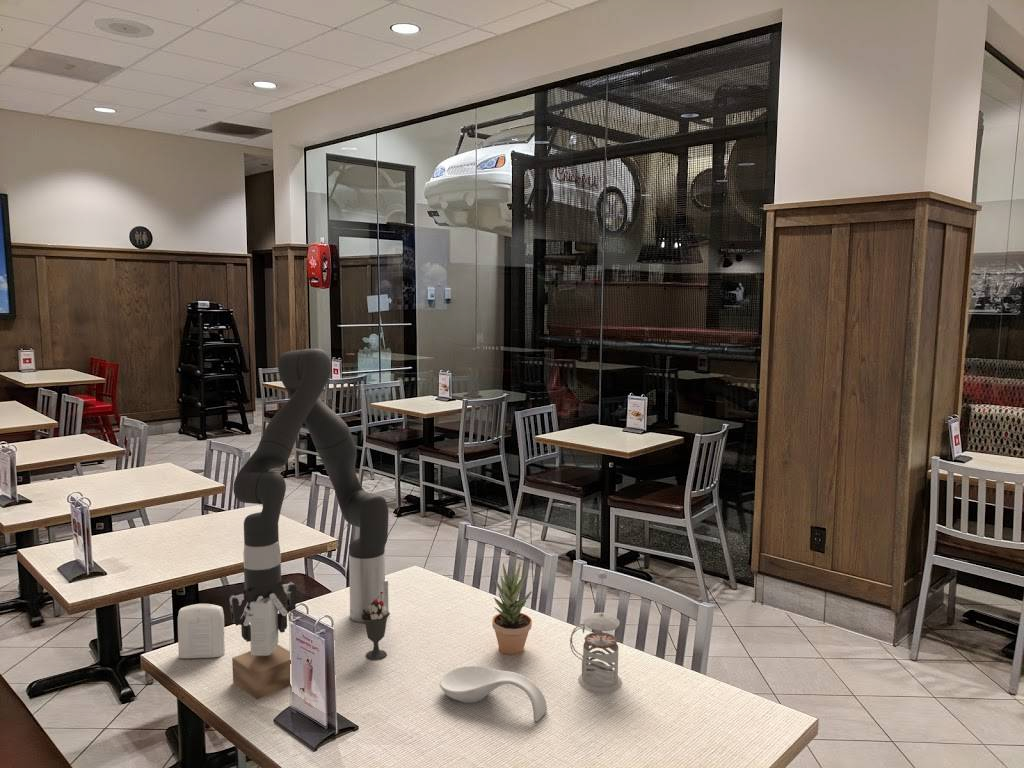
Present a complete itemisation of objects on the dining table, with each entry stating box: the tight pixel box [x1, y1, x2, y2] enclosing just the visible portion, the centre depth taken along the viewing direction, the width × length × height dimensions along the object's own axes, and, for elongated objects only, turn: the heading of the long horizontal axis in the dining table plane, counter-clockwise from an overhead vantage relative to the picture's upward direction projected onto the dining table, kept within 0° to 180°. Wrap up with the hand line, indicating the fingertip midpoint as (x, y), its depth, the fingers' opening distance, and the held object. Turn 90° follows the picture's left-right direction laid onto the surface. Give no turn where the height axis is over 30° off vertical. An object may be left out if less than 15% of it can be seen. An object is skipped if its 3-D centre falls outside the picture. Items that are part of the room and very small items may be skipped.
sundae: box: [361, 592, 391, 661], centre depth 172 cm, size 7×7×15 cm
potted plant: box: [491, 549, 533, 655], centre depth 176 cm, size 10×10×25 cm
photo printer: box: [177, 603, 226, 659], centre depth 172 cm, size 10×4×12 cm, turn 98°
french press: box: [569, 571, 623, 694], centre depth 161 cm, size 10×12×25 cm
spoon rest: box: [438, 665, 548, 722], centre depth 153 cm, size 24×12×7 cm, turn 63°
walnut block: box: [231, 643, 291, 700], centre depth 160 cm, size 10×10×6 cm
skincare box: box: [249, 598, 279, 656], centre depth 159 cm, size 6×4×12 cm
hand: (264, 635), depth 160 cm, fingers closed on skincare box, 6 cm apart
